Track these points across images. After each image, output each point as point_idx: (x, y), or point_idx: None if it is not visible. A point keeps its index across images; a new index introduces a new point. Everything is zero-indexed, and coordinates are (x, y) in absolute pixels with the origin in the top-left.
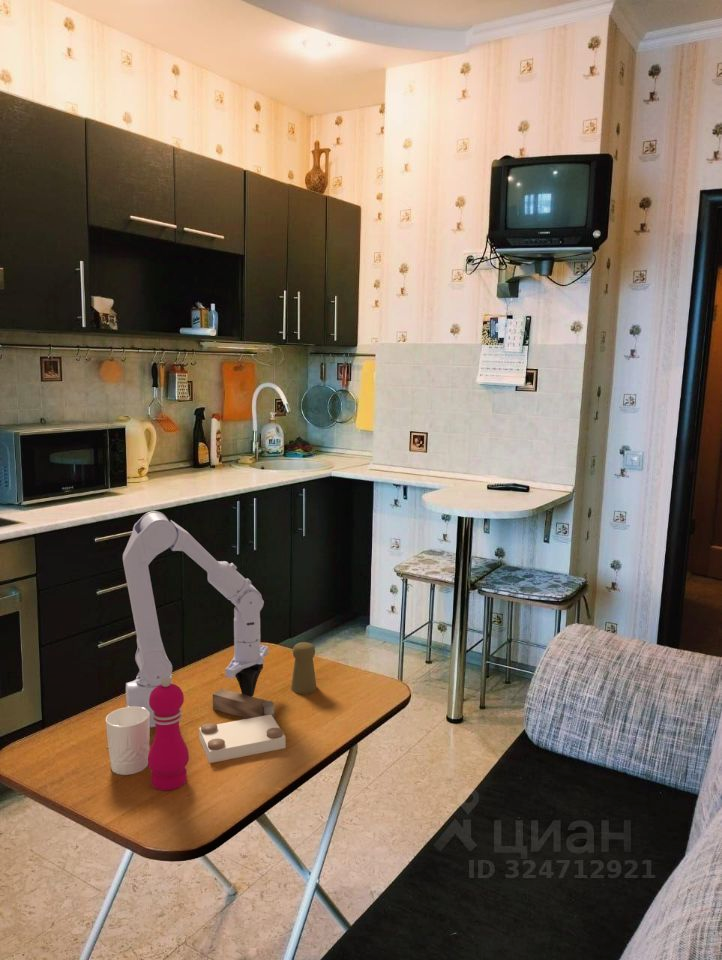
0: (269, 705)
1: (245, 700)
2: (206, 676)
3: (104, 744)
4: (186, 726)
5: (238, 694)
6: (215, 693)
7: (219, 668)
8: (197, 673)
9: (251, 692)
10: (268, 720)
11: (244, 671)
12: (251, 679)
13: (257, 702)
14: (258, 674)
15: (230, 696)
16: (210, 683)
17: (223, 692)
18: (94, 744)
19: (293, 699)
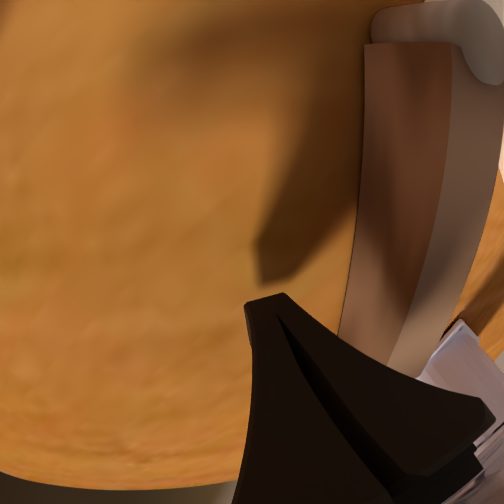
0: (499, 26)
1: (471, 225)
2: (186, 467)
3: (499, 324)
4: (468, 290)
5: (414, 316)
6: (413, 376)
7: (126, 473)
8: (190, 476)
9: (300, 312)
10: (499, 9)
11: (473, 450)
12: (414, 384)
13: (483, 134)
14: (279, 444)
15: (436, 321)
16: (212, 448)
17: (403, 370)
18: (497, 331)
19: (29, 89)
